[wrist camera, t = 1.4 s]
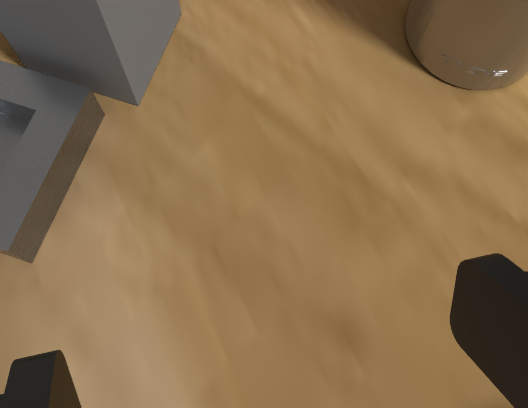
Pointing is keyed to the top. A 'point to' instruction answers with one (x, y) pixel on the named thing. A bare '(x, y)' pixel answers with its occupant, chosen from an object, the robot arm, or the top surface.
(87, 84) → the upper socket stand
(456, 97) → the top surface
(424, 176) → the top surface
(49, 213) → the lower socket
